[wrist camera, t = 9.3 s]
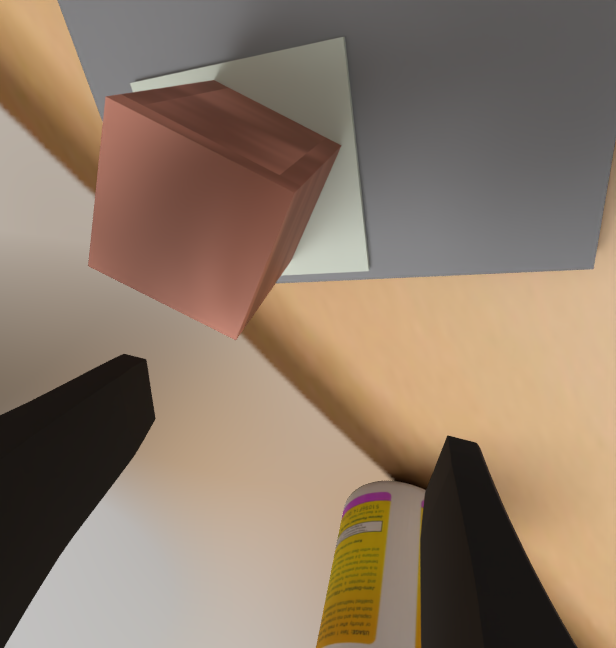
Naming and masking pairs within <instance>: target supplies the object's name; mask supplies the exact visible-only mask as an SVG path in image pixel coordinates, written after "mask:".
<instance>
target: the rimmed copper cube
mask: <svg viewBox="0 0 616 648" xmlns="http://www.w3.org/2000/svg"><path fill="white" fill-rule="evenodd" d="M341 146H342V145H340V144H338V143H336V142H334V141H332V140H330V139H328V138H326V137H324V136H322V135H320V134H318V133H316V132H314V131H312V130H311V129H309V128H307V127H305V126H303V125H301V124H299V123H297V122H295V121H293V120H291V119H289V118H287V117H285V116H283V115H281V114H279V113H277V112H275V111H273V110H272V109H270V108H268V107H266V106H264V105H262V104H260V103H258V102H256V101H254V100H252V99H250V98H248V97H246V96H244V95H242V94H240V93H238V92H236V91H234V90H232V89H231V88H229V87H227V86H225V85H223V84H221V83H219V82H217V81H215V80H210V81H204V82H197V83H191V84H184V85H177V86H171V87H164V88H158V89H151V90H145V91H138V92H132V93H125V94H119V95H112V96H106V97H105V107H104V117H103V126H102V136H101V146H100V156H99V165H98V175H97V185H96V194H95V205H94V214H93V224H92V233H91V243H90V253H89V262H88V266H89V267H91V268H93V269H95V270H97V271H99V272H101V273H103V274H105V275H107V276H109V277H111V278H113V279H115V280H117V281H119V282H121V283H123V284H125V285H127V286H129V287H131V288H133V289H135V290H137V291H139V292H141V293H143V294H145V295H147V296H149V297H151V298H153V299H155V300H157V301H159V302H161V303H163V304H165V305H167V306H169V307H171V308H173V309H175V310H177V311H179V312H181V313H183V314H185V315H187V316H189V317H191V318H193V319H195V320H197V321H199V322H201V323H203V324H205V325H207V326H209V327H211V328H213V329H215V330H217V331H218V332H220V333H222V334H224V335H226V336H228V337H230V338H233V339H234V340H236V339H237V338H238V336H239V335H240V334H241V332H242V331H243V329H244V328H245V326H246V325H247V324H248V322H249V321H250V319H251V318H252V316H253V315H254V313H255V312H256V311H257V309H258V308H259V306H260V305H261V303H262V302H263V301H264V299H265V298H266V296H267V295H268V293H269V292H270V290H271V289H272V288H273V286H274V285H275V283H276V282H277V280H278V279H279V278H280V276H281V275H282V273H283V272H284V270H285V269H286V268H287V266H288V265H289V263H290V262H291V260H292V258H293V256H294V253H295V251H296V249H297V246H298V244H299V242H300V240H301V237H302V235H303V233H304V230H305V228H306V226H307V224H308V221H309V219H310V217H311V214H312V212H313V210H314V207H315V205H316V203H317V201H318V198H319V196H320V194H321V191H322V189H323V187H324V185H325V182H326V180H327V178H328V175H329V173H330V171H331V169H332V166H333V164H334V162H335V159H336V157H337V155H338V153H339V150H340V148H341Z"/></svg>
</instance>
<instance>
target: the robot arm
mask: <svg viewBox="0 0 616 648" xmlns="http://www.w3.org/2000/svg"><path fill="white" fill-rule="evenodd" d="M154 421H155V413H154V407H153V400H152V394H151V387H150V381H149V375H148V368H147V361H146V359H143V358H139V357H134V356H131V355H127V354H123V355H120V356H118V357H116V358H114V359H112V360H110V361H108V362H106V363H104V364H102V365H100V366H98V367H96V368H94V369H92V370H90V371H88V372H86V373H84V374H83V375H81V376H79V377H77V378H75V379H73V380H71V381H69V382H67V383H65V384H63V385H61V386H59V387H57V388H55V389H53V390H52V391H50V392H48V393H46V394H44V395H42V396H40V397H38V398H36V399H34V400H32V401H30V402H28V403H26V404H23V405H21V406H19V407H17V408H15V409H13V410H11V411H9V412H7V413H5V414H2V415H0V648H4V647H5V644H6V643H7V641H8V640H9V638H10V636H11V635H12V633H13V631H14V630H15V628H16V626H17V624H18V623H19V621H20V619H21V618H22V616H23V614H24V613H25V611H26V609H27V608H28V606H29V604H30V603H31V601H32V599H33V598H34V596H35V594H36V593H37V591H38V590H39V588H40V586H41V585H42V583H43V581H44V580H45V578H46V577H47V575H48V574H49V572H50V570H51V569H52V567H53V566H54V564H55V562H56V561H57V559H58V558H59V556H60V555H61V553H62V552H63V550H64V549H65V547H66V546H67V545H68V543H69V542H70V540H71V539H72V538H73V536H74V535H75V533H76V532H77V531H78V530H79V528H80V527H81V526H82V524H83V523H84V522H85V520H86V519H87V518H88V516H89V515H90V514H91V512H92V511H93V510H94V509H95V507H96V506H97V505H98V503H99V502H100V501H101V499H102V498H103V497H104V495H105V494H106V493H107V491H108V490H109V489H110V488H111V486H112V485H113V484H114V482H115V481H116V480H117V478H118V477H119V476H120V474H121V473H122V471H123V470H124V469H125V468H126V466H127V465H128V464H129V462H130V461H131V459H132V458H133V457H134V455H135V454H136V452H137V450H138V449H139V447H140V445H141V443H142V442H143V440H144V439H145V437H146V435H147V433H148V431H149V430H150V427H151V426H152V424H153V422H154ZM420 593H421V648H577V646H576V645H575V643H574V641H573V640H572V638H571V636H570V634H569V633H568V631H567V629H566V627H565V626H564V624H563V622H562V620H561V619H560V617H559V615H558V613H557V612H556V610H555V608H554V606H553V604H552V603H551V601H550V599H549V597H548V595H547V593H546V591H545V589H544V588H543V586H542V584H541V582H540V580H539V578H538V576H537V574H536V573H535V571H534V569H533V567H532V565H531V563H530V561H529V559H528V557H527V555H526V553H525V551H524V548H523V546H522V544H521V542H520V540H519V538H518V536H517V534H516V532H515V530H514V528H513V525H512V523H511V521H510V519H509V517H508V515H507V512H506V510H505V508H504V506H503V503H502V501H501V499H500V496H499V494H498V492H497V489H496V487H495V485H494V482H493V480H492V477H491V475H490V472H489V470H488V467H487V465H486V462H485V460H484V457H483V454H482V452H481V449H480V447H479V446H478V444H477V443H475V442H471V441H467V440H463V439H459V438H455V437H451V436H447V438H446V441H445V443H444V446H443V448H442V451H441V454H440V456H439V459H438V461H437V464H436V466H435V469H434V471H433V474H432V476H431V479H430V482H429V484H428V487H427V489H426V492H425V496H424V506H423V515H422V525H421V536H420Z"/></svg>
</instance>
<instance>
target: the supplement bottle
mask: <svg viewBox="0 0 616 648" xmlns="http://www.w3.org/2000/svg"><path fill="white" fill-rule="evenodd" d="M425 492H426V490H424V489H422V488H420V487H417V486H414V485H411V484H407V483H403V482H396V481H378V482H373V483H369V484H366V485H363V486H361V487H359V488H358V489H357V490H355V491H354V492H353V493H352V494H351V495H350V496H349V498H348V499H347V501H346V504H345V507H344V511H343V515H342V520H341V525H340V530H339V535H338V540H337V545H336V550H335V554H334V560H333V564H332V570H331V575H330V580H329V585H328V590H327V595H326V601H325V605H324V610H323V615H322V621H321V626H320V631H319V635H318V641H317V646H316V648H421V593H420V536H421V525H422V515H423V506H424V496H425Z"/></svg>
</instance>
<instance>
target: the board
mask: <svg viewBox="0 0 616 648" xmlns="http://www.w3.org/2000/svg"><path fill="white" fill-rule="evenodd" d="M58 3H59V6H60V8H61V11H62V14H63V16H64V19H65V22H66V25H67V27H68V30H69V33H70V35H71V38H72V41H73V43H74V46H75V49H76V51H77V54H78V57H79V59H80V62H81V65H82V68H83V70H84V73H85V76H86V78H87V81H88V84H89V86H90V89H91V92H92V94H93V97H94V100H95V103H96V105H97V108H98V111H99V113H100V116H101V119H102V121H103V117H104V107H105V97H106V96H112V95H119V94H125V93H132V92H138V91H145V90H151V89H158V88H164V87H171V86H177V85H184V84H191V83H197V82H204V81H210V80H215V81H217V82H219V83H221V84H223V85H225V86H227V87H229V88H231V89H232V90H234V91H236V92H238V93H240V94H242V95H244V96H246V97H248V98H250V99H252V100H254V101H256V102H258V103H260V104H262V105H264V106H266V107H268V108H270V109H272V110H273V111H275V112H277V113H279V114H281V115H283V116H285V117H287V118H289V119H291V120H293V121H295V122H297V123H299V124H301V125H303V126H305V127H307V128H309V129H311V130H312V131H314V132H316V133H318V134H320V135H322V136H324V137H326V138H328V139H330V140H332V141H334V142H336V143H338V144H340V145H342V146H341V148H340V150H339V153H338V155H337V157H336V159H335V162H334V164H333V166H332V169H331V171H330V173H329V175H328V178H327V180H326V182H325V185H324V187H323V189H322V191H321V194H320V196H319V198H318V201H317V203H316V205H315V207H314V210H313V212H312V214H311V217H310V219H309V221H308V224H307V226H306V228H305V230H304V233H303V235H302V237H301V240H300V242H299V244H298V246H297V249H296V251H295V253H294V256H293V258H292V260H291V262H290V263H289V265H288V266H287V268H286V269H285V270H284V272H283V273H282V275H281V276H280V278H279V279H278V280H277V282H276V283H295V282H318V281H340V280H362V279H384V278H406V277H429V276H451V275H473V274H495V273H518V272H540V271H562V270H584V269H594V263H595V257H596V251H597V245H598V240H599V234H600V228H601V222H602V216H603V210H604V204H605V199H606V193H607V187H608V181H609V175H610V169H611V163H612V158H613V152H614V146H615V140H616V0H58Z"/></svg>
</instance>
